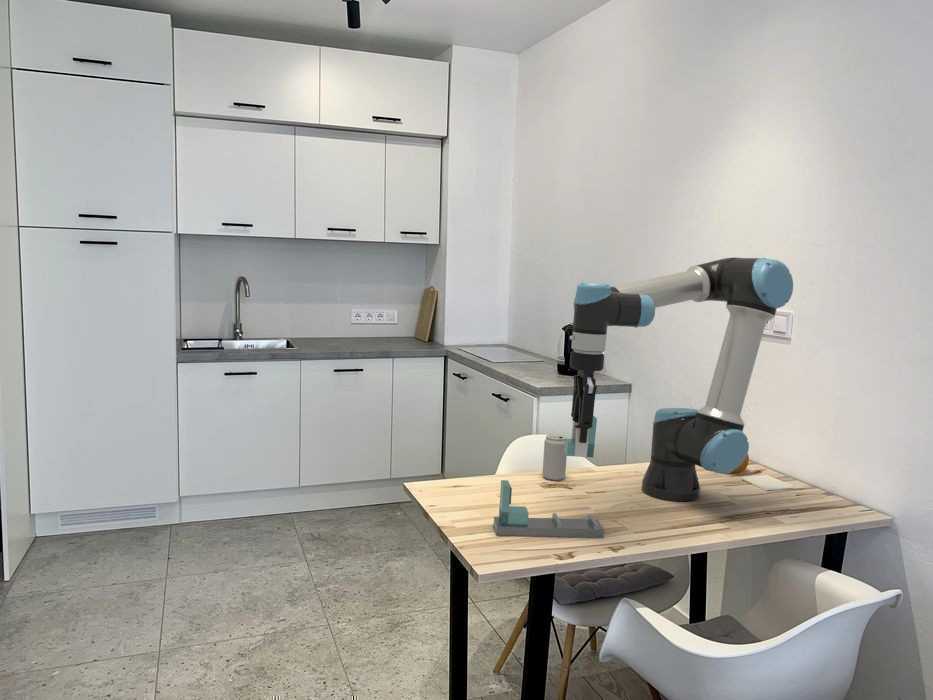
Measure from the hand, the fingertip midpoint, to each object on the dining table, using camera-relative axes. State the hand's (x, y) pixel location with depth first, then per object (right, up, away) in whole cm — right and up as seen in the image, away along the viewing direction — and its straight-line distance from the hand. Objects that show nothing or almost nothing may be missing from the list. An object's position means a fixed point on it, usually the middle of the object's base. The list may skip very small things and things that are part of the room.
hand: (578, 452), depth 165 cm
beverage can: (-1, -13, +38) cm, 40 cm away
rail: (-7, -17, -2) cm, 19 cm away
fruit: (+54, -13, +56) cm, 78 cm away
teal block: (0, 0, 0) cm, 0 cm away
